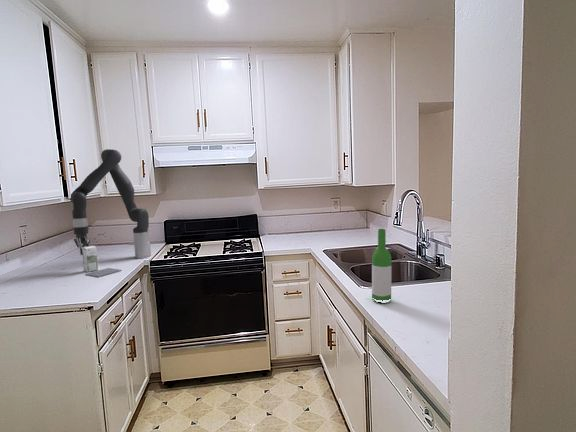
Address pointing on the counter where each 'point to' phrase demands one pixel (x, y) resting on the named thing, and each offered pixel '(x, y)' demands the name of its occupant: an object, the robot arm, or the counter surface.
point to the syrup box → (90, 258)
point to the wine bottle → (381, 269)
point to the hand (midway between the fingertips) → (83, 254)
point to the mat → (103, 272)
